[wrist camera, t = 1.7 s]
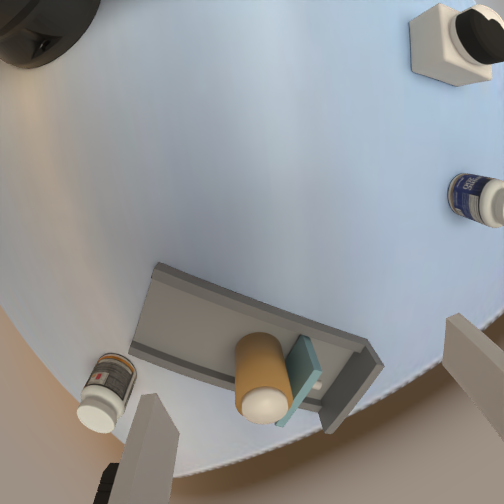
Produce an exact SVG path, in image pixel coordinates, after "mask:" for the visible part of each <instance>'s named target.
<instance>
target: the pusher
mask: <svg viewBox="0 0 504 504" xmlns="http://www.w3.org/2000/svg"><path fill="white" fill-rule="evenodd" d="M285 364H286V369H287V373H288V378H289V382H290V387H291V391H292V396H293V403H292V406H291V408H290V409H289V410H288V411H287V413H286V415H285V416H284V417H283V418H282V419H280V420H278V421H276V422H275V426H279V427H284V425H285V424H286V423H287V422H288V420H289V419H290V418H291V416H292V415H293V413H294V412H295V411H296V409H297V408H298V407H299V405H300V404H301V402H302V401H303V400H304V398H305V397H306V395H307V394H308V393H309V391H310V390H311V388H313V389H317V390H319V389H320V388H321V387H322V381H321V380H318V378H319V377H320V375H321V374H322V372H323V371H322V369H321V366H320V363H319V361H318V358H317V355H316V353H315V350H314V347H313V345H312V342H311V339H310V337H308V336H305V335H302V334H301V336H300V337H299V339H298V341H297V342H296V344H295V346H294V347H293V349H292V351H291V353H290V354H289V356H288V358H287V359H286V361H285Z"/></svg>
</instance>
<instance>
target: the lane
mask: <svg viewBox="0 0 504 504" xmlns="http://www.w3.org/2000/svg"><path fill="white" fill-rule="evenodd" d="M151 278H152V281H151V284H150V287H149V290H148V293H147V296H146V299H145V302H144V306H143V309H142V312H141V315H140V319H139V322H138V325H137V329H136V332H135V335H134V339H133V341H132V343H131V345H130V348H129V352H128V354H130V355H132V356H135V357H137V358H140V359H142V360H145V361H147V362H150V363H152V364H155V365H158V366H160V367H163V368H166V369H168V370H171V371H174V372H176V373H179V374H182V375H185V376H188V377H191V378H194V379H197V380H200V381H203V382H206V383H209V384H212V385H215V386H218V387H221V388H225V389H228V390H231V391H235V348H236V345H237V343H238V342H239V340H240V339H241V338H243V337H244V336H246V335H248V334H250V333H254V332H265V333H269V334H271V335H273V336H274V337H276V338H277V339H278V340H279V342H280V344H281V347H282V351H283V356H284V360H285V361H286V359H287V358H288V356H289V354H290V353H291V351H292V349H293V347H294V346H295V344H296V342H297V341H298V339H299V337H300V336H301V334H302V335H305V336H308V337H310V339H311V342H312V345H313V347H314V350H315V353H316V355H317V358H318V361H319V363H320V366H321V369H322V371H323V372H322V374H321V375H320V377H319V378H318V380H321V381H322V387H321V388H320V389H319V390H317V389H313V388H311V390H310V391H309V393H308V394H307V395H306V397H305V398H304V400H303V401H302V402H301V404H300V405H299V407H298V408H300V409H304V410H309V411H314V412H318V414H319V417H320V421H321V424H322V427H323V430H324V433H328V434H332V433H333V432H334V431H335V430H336V429H337V428H338V426H339V425H340V424H341V423H342V422H343V420H344V419H345V418H346V417H347V415H348V414H349V413H350V412H351V411H352V409H353V408H354V407H355V406H356V404H357V403H358V402H359V400H360V399H361V398H362V397H363V395H364V394H365V393H366V391H367V390H368V389H369V387H370V386H371V385H372V383H373V382H374V380H375V379H376V378H377V376H378V375H379V374H380V372H381V371H382V369H383V368H384V364H383V363H382V361H381V360H380V358H379V357H378V355H377V353H376V352H375V350H374V349H373V347H372V346H371V344H370V343H369V341H368V340H367V339H365V338H362V337H359V336H356V335H353V334H350V333H347V332H344V331H341V330H338V329H335V328H332V327H329V326H326V325H324V324H321V323H318V322H315V321H312V320H309V319H306V318H304V317H301V316H298V315H295V314H292V313H290V312H287V311H284V310H281V309H279V308H276V307H273V306H270V305H268V304H265V303H262V302H260V301H257V300H254V299H252V298H249V297H246V296H244V295H241V294H238V293H236V292H233V291H230V290H228V289H225V288H223V287H220V286H217V285H215V284H212V283H210V282H207V281H205V280H202V279H200V278H197V277H194V276H192V275H189V274H187V273H184V272H182V271H179V270H177V269H174V268H172V267H170V266H167V265H165V264H162V263H160V262H158V263H157V265H156V266H155V268H154V270H153V273H152V276H151Z"/></svg>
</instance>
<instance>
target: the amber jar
mask: <svg viewBox="0 0 504 504" xmlns="http://www.w3.org/2000/svg"><path fill="white" fill-rule="evenodd" d="M292 403H293V396H292V391H291V387H290V382H289V378H288V373H287V369H286V364H285V360H284V356H283V351H282V347H281V344H280V342H279V340H278V339H277V338H276V337H274V336H273V335H271V334H269V333H265V332H254V333H250V334H248V335H246V336H244V337H243V338H241V339H240V340H239V342H238V343H237V345H236V348H235V405H236V408H237V410H238V412H239V413H240V414H241V415H243V416H244V417H245V418H246V419H247V420H248V421H250V422H253V423H256V424H270V423H274V422H276V421H278V420H280V419H282V418H283V417H284V416H285V415H286V413H287V411H288V410H289V409H290V408H291V406H292Z"/></svg>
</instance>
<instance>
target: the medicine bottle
mask: <svg viewBox="0 0 504 504" xmlns="http://www.w3.org/2000/svg"><path fill="white" fill-rule="evenodd" d="M409 25H410V40H411V64H412V71H413V72H414V73H418V74H421V75H424V76H427V77H431V78H434V79H437V80H440V81H442V82H445V83H448V84H451V85H454V86H457V87H458V86H463V85H468V84H473V83H478V82H484V81H489V80H492V67H491V64H494V63H499V62H504V21H503V20H502V19H501V17H500V16H499V15H498V14H497V13H496V12H495V11H493V10H492V9H490V8H489V7H487V6H484V5H479V4H478V5H474V6H472V7H470V8H468V9H466V10H464V11H462V12H459V11H456V10H454V9H452V8H450V7H448V6H446V5H443V4H441V3H438V4H436V5H435V6H433V7H432V8H430V9H428V10H427V11H425V12H424V13H422V14H420V15H419V16H417V17H416V18H414V19H413V20H411V21H410V22H409Z"/></svg>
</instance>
